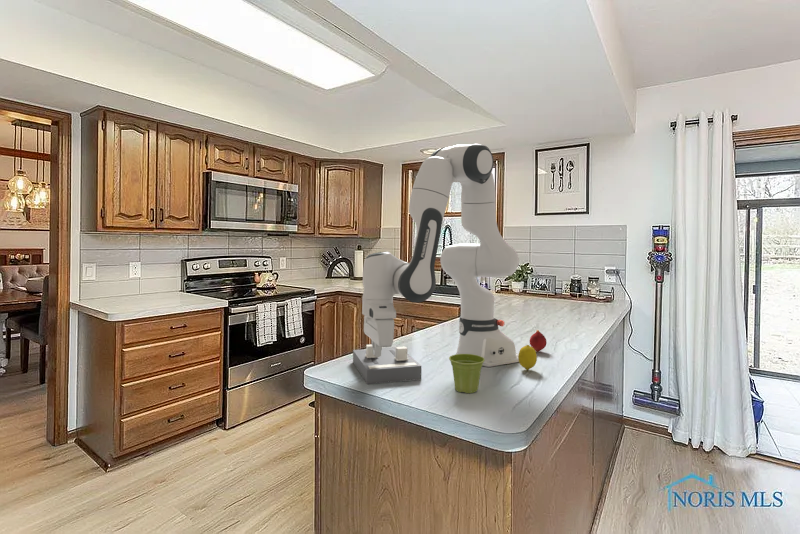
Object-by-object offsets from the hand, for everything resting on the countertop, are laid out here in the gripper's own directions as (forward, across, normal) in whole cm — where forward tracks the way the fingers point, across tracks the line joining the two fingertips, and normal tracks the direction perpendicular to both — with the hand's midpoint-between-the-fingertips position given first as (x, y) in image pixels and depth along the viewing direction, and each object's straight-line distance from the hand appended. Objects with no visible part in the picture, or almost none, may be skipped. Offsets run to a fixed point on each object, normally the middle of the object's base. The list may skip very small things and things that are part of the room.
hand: (376, 355), depth 124 cm
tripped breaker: (+2, -8, 0) cm, 8 cm away
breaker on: (+2, -3, +8) cm, 9 cm away
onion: (+6, -13, +64) cm, 65 cm away
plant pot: (+7, +16, +21) cm, 27 cm away
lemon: (+6, +5, +47) cm, 48 cm away
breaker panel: (+6, -7, +4) cm, 10 cm away
